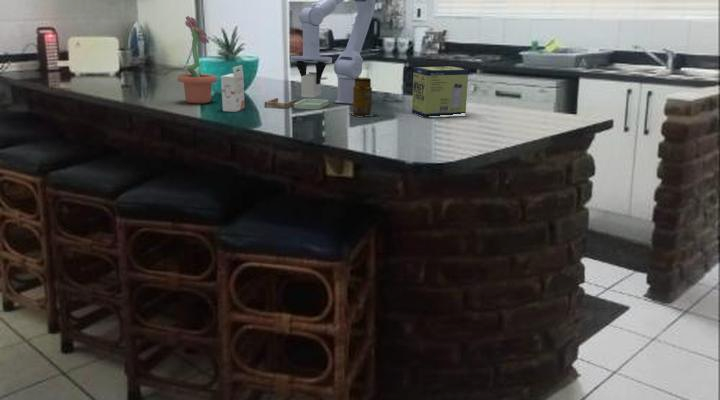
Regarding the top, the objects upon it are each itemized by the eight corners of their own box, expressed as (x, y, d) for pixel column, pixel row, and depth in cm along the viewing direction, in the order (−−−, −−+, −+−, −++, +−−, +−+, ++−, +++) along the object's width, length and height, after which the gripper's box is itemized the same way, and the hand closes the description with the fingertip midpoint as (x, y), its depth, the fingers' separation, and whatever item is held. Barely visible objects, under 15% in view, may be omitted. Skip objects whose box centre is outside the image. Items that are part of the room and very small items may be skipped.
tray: (328, 104, 230) (328, 100, 230) (318, 109, 219) (318, 105, 218) (305, 103, 232) (304, 98, 232) (293, 108, 221) (293, 103, 220)
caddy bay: (297, 104, 230) (297, 99, 229) (286, 108, 220) (286, 103, 219) (276, 102, 232) (275, 97, 231) (264, 107, 222) (264, 102, 221)
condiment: (366, 112, 216) (367, 76, 212) (378, 116, 208) (379, 79, 205) (347, 113, 213) (347, 77, 209) (358, 117, 205) (359, 80, 202)
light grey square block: (320, 93, 228) (320, 72, 225) (313, 97, 220) (313, 75, 218) (308, 93, 229) (308, 71, 226) (301, 96, 221) (301, 74, 219)
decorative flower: (225, 104, 227) (221, 16, 218) (188, 106, 220) (182, 16, 211) (209, 98, 239) (205, 15, 230) (173, 101, 231) (167, 15, 222)
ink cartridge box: (231, 107, 220) (229, 64, 216) (245, 108, 219) (243, 64, 215) (221, 111, 212) (219, 66, 208) (235, 112, 211) (233, 67, 207)
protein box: (410, 113, 216) (412, 66, 211) (451, 111, 221) (454, 66, 216) (424, 118, 206) (426, 69, 202) (466, 116, 211) (469, 69, 207)
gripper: (287, 43, 217) (287, 83, 221) (327, 45, 214) (327, 85, 218) (294, 42, 224) (294, 81, 228) (333, 44, 220) (333, 83, 224)
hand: (311, 83), depth 223 cm, fingers closed on light grey square block, 4 cm apart
